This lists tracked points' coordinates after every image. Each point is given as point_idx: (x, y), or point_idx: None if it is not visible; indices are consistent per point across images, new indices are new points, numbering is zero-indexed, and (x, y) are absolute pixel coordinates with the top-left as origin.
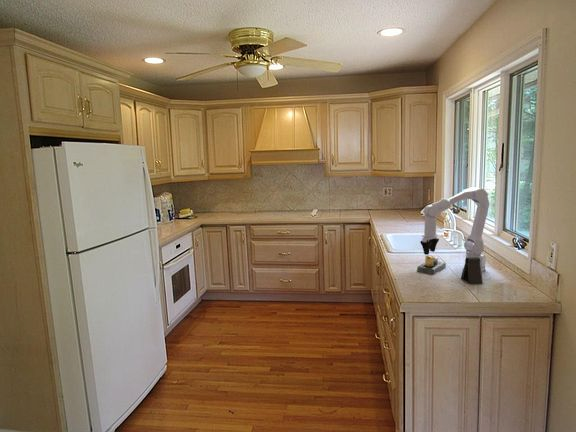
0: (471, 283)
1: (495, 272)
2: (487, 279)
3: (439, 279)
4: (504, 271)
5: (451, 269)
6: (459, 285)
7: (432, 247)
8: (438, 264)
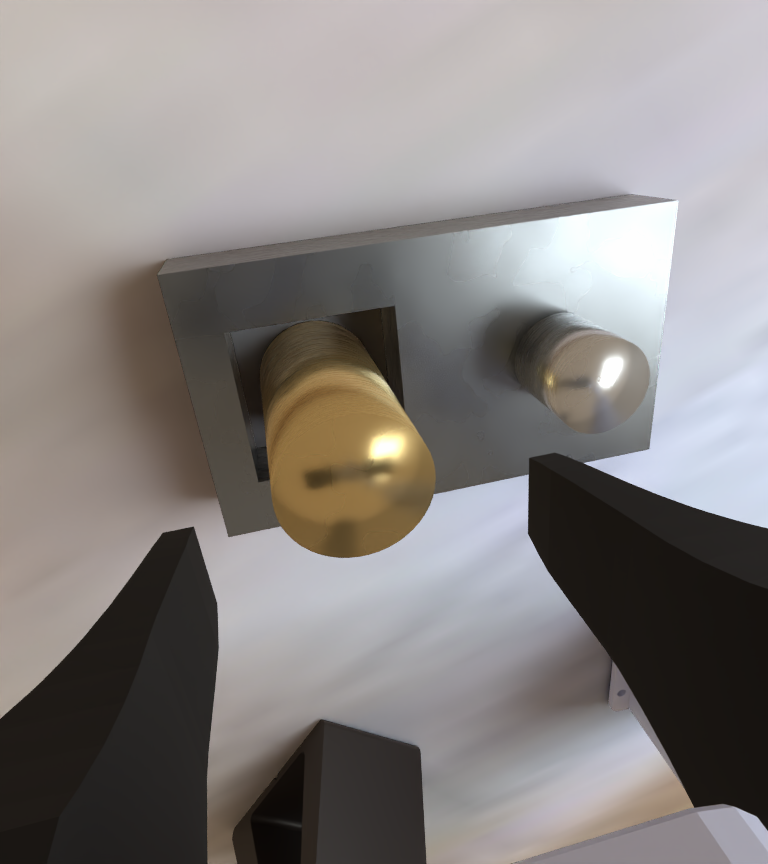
0: (237, 841)
1: None
2: (463, 806)
3: None
4: None
5: None
6: None
7: (586, 561)
8: (513, 434)
